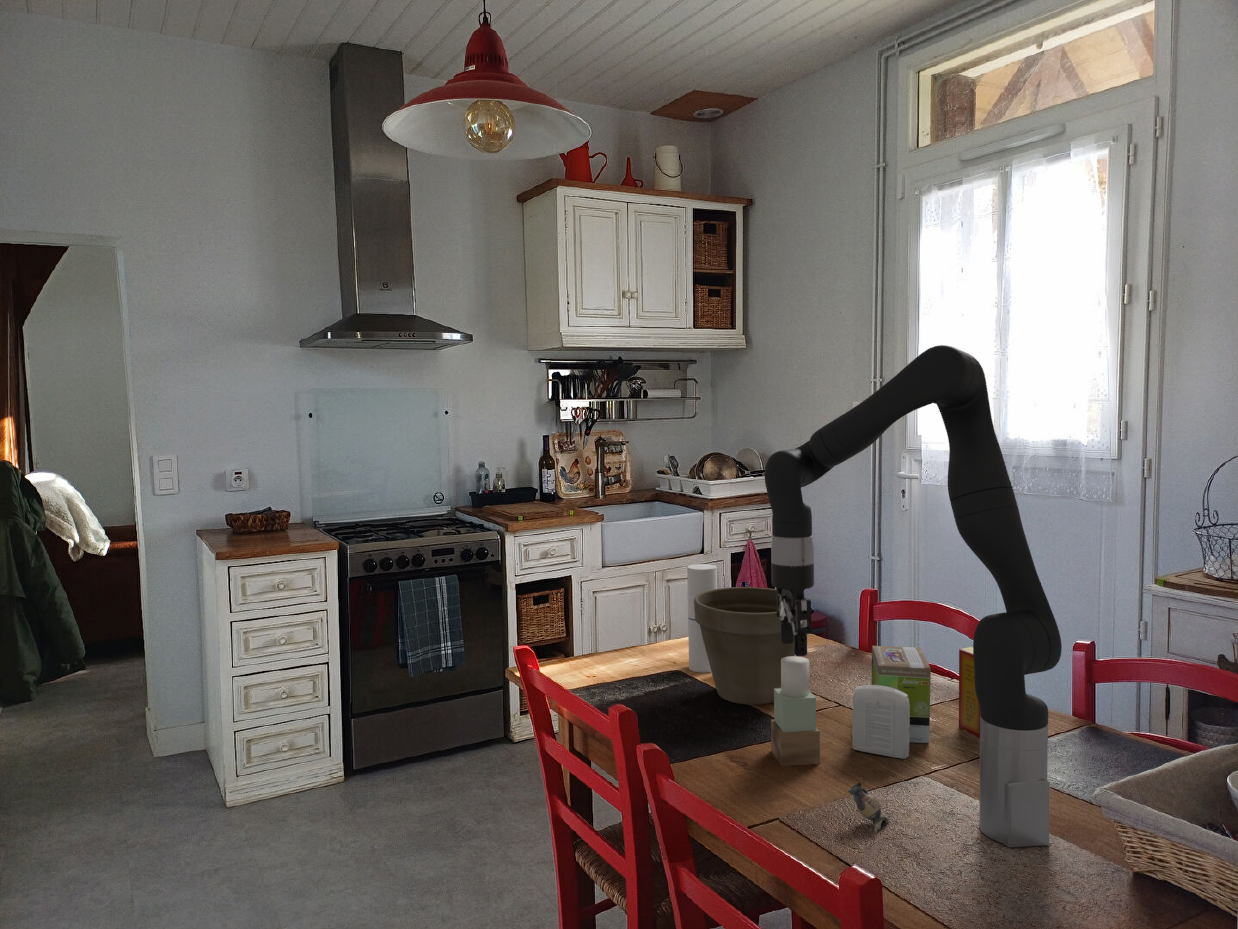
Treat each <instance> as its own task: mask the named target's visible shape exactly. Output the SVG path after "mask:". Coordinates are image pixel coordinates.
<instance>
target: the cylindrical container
mask: <svg viewBox="0 0 1238 929" xmlns="http://www.w3.org/2000/svg"><path fill="white" fill-rule="evenodd" d="M686 568H687V569H686V570H687V572H686V573H687V574H686V575H687V577H686V578H687V622H688V623H687V624H688V625H687V627H688V629H687V630H688V631H687V632H688V633H687V634H688V636H687V638H688V670H690V671H691V670H692V672H695V673H712V672H711V668H710V664H709V660H708V656H707V653H706V649H705V645H704V641H703V637H702V633H701V629H700V624H698V623H697V622H696V620H695V609H694V599H695V597H696V595H698V594H700V593H702V592H705V591H708V590H713V589H718V566H717V565H715V564H707V563H698V564H697V563H696V564H690V565H688V566H687V567H686Z"/></svg>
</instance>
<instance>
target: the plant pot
mask: <svg viewBox="0 0 1238 929" xmlns="http://www.w3.org/2000/svg"><path fill="white" fill-rule="evenodd" d="M694 609H695V620H696V622H697V623H698V624H700V629H701V633H702V637H703V641H704V645H705V649H706V653H707V656H708V660H709V664H710V668H711V672H710V673H711V675H712V680H713V683H714V686H715V689H716V692H717V694H718V696H719V697H720V698H722V699H723V700H725V701H727V700H728V702H731V703H734V704H741V705H748V706H749V705H751V706H753V705H754V706H755V705H766V704H767V705H769V704H772V703H774V689H777V688H781V659H782V658H784V657H790V656H796V655H795V654H794V642H793V643H792V644H783V643H782V642H781V624H782V623H780V622H779V617H777V615H776V612H777V591H776V588H769V587H767V588H766V587H753V586H749V587H748V586H739V587H738V586H737V587H736V586H735V587H734V586H733V587H732V586H731V587H722V588H720V587H719V588H717V589H713V590H708V591H705V592H702V593H700V594H698V595H696V597H695V599H694ZM800 626H801V627H803V624H802V623H800ZM793 636H794V633H793Z"/></svg>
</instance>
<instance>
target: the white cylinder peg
mask: <svg viewBox="0 0 1238 929" xmlns="http://www.w3.org/2000/svg"><path fill="white" fill-rule="evenodd" d="M809 691H810V660H809V658H806V657H804V656H796V655H795V656H790V657H784V658H782V659H781V693H782V694H783V695H785V696H789V697H804V696H807V695H809Z"/></svg>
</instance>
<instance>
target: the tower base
mask: <svg viewBox="0 0 1238 929" xmlns="http://www.w3.org/2000/svg"><path fill="white" fill-rule="evenodd" d="M820 733H821V732H820V730H819V729H818V727H816V730H815V731H797V732H783V731H782V730H781V729H780V727H779V726H778V725H777V723H776V722H775V721H774V719H770V745H771V746H770V750H771V753H772V754H773V756H774V757H775V758H776V760H777V762H778V764H780V766H781V767H787V766H788V767H789V766H803V765H806V766H807V765H819V764H821V758H820V757H821V755H820V754H821V743H820V742H821V738H820V736H821V734H820Z"/></svg>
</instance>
